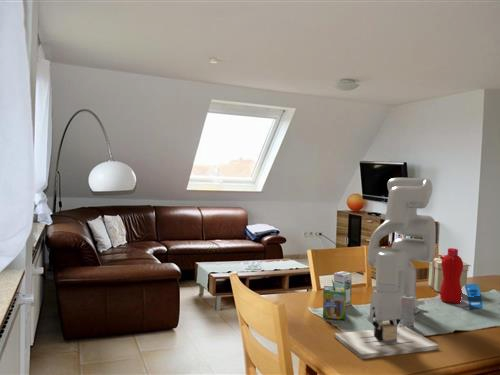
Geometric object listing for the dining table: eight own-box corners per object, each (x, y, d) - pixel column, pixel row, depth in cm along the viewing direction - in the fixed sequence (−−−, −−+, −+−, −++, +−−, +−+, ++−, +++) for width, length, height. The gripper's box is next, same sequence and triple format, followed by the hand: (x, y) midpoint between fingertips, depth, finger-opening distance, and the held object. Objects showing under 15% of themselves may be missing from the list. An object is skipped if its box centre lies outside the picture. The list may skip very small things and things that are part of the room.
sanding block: (373, 335, 153) (374, 321, 153) (384, 334, 155) (385, 320, 155) (385, 343, 147) (386, 328, 147) (396, 341, 148) (397, 327, 148)
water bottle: (440, 303, 199) (442, 249, 198) (439, 297, 209) (441, 246, 208) (462, 306, 195) (465, 251, 194) (460, 299, 205) (462, 247, 204)
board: (404, 330, 164) (405, 326, 164) (438, 349, 147) (438, 345, 147) (334, 337, 155) (334, 333, 155) (361, 358, 138) (361, 354, 138)
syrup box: (343, 307, 190) (344, 275, 189) (332, 304, 194) (333, 272, 194) (351, 304, 194) (352, 273, 193) (340, 301, 198) (341, 270, 198)
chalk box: (345, 320, 173) (346, 284, 172) (322, 318, 175) (323, 282, 174) (345, 313, 182) (346, 278, 181) (323, 311, 184) (324, 277, 183)
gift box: (474, 294, 215) (476, 260, 214) (438, 293, 215) (439, 259, 214) (458, 285, 232) (460, 253, 231) (424, 284, 232) (425, 252, 231)
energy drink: (413, 325, 169) (414, 295, 169) (414, 330, 164) (415, 299, 164) (399, 323, 171) (400, 293, 171) (399, 328, 166) (400, 297, 165)
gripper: (400, 283, 156) (398, 332, 157) (359, 286, 151) (358, 336, 152) (414, 288, 149) (412, 340, 150) (372, 292, 144) (370, 345, 145)
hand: (385, 338), depth 151 cm, fingers closed on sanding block, 4 cm apart
